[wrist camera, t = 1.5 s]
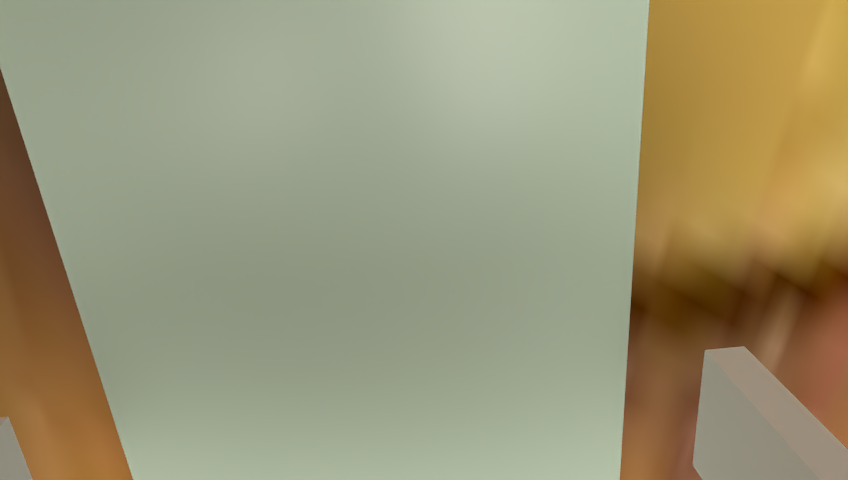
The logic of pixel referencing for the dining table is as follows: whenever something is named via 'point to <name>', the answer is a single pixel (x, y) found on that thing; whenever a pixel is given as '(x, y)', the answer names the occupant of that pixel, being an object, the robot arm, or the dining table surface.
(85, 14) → the cover board
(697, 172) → the dining table surface
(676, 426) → the dining table surface
